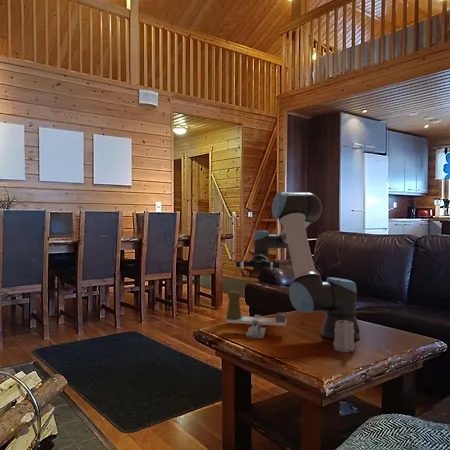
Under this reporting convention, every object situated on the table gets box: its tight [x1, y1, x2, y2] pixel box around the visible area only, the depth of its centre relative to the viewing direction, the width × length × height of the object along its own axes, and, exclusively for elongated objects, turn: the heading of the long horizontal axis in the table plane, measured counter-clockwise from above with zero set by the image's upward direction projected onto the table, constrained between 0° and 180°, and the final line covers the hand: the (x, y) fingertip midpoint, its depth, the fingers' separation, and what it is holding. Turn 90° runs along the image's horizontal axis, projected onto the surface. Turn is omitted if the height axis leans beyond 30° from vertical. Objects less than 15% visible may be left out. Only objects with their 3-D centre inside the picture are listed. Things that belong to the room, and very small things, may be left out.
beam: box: [224, 312, 287, 327], centre depth 174 cm, size 24×7×4 cm, turn 80°
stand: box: [245, 314, 267, 339], centre depth 174 cm, size 7×12×7 cm, turn 170°
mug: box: [332, 320, 356, 353], centre depth 153 cm, size 8×12×12 cm, turn 169°
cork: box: [226, 290, 242, 319], centre depth 176 cm, size 6×6×11 cm
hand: (256, 266), depth 191 cm, fingers open, 13 cm apart
